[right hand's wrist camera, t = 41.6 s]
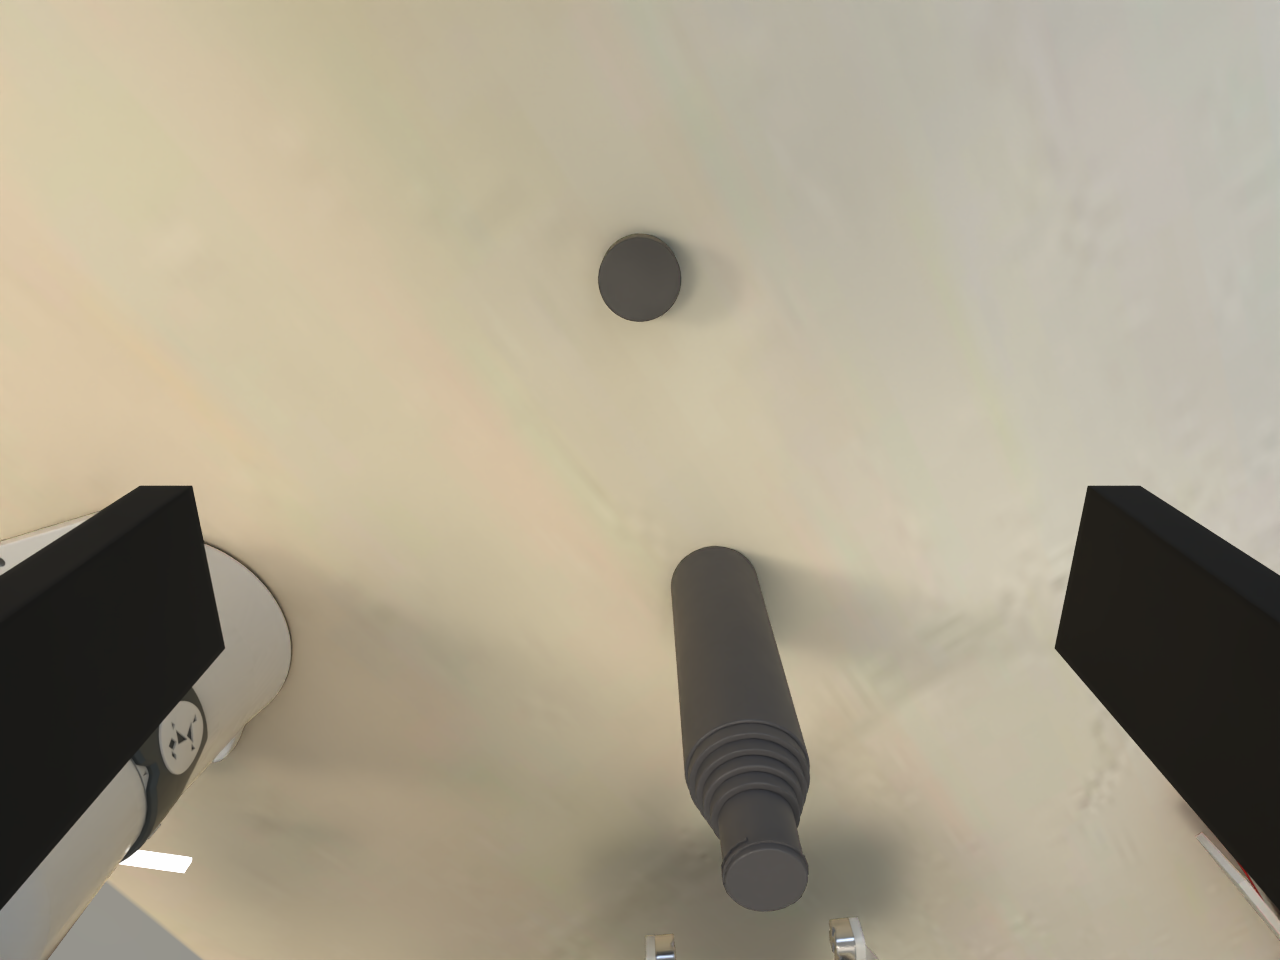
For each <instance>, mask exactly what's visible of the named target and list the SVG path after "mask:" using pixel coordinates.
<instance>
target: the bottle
mask: <svg viewBox="0 0 1280 960" xmlns="http://www.w3.org/2000/svg"><path fill="white" fill-rule="evenodd" d="M671 593H672V607H673V620H674V634H675V647H676V661H677V675H678V688H679V702H680V715H681V729H682V743H683V756H684V770H685V779H686V783H687V786H688V789H689V791H690V795H691V798H692V800H693V802H694V804H695V805H696V807H697V808H698V809H699V811H700V812H701V814H702V815H703V817H704V818H705V819H706V820H707V822H708V824H709V825H710V826H711V828H712V829H713V830H714V832H715V834H716V836H717V837H718V838H719V839H720V843H721V851H722V859H723V862H722V865H721V867H722V878H723V885H724V887H725V889H726V892H727V893H728V895H729V896H730V897H731V898H732V899H733V900H734V901H735V902H737V903H738V904H739V905H741V906H743V907H745V908H747V909H750V910H754V911H763V912H764V911H775V910H779V909H782V908H785V907H787V906H789V905H791V904H793V903H795V902H796V901H797V900H798V899H799V898H801V897H802V896H801V895H802V894H803V892H804V890H805V888H806V886H807V881H808V863H807V860H806V858H805V856H804V855H803V852H802V848H801V844H800V840H799V835H798V831H797V827H798V825H799V821H800V816H801V813H802V809H803V806H804V803H805V800H806V795H807V792H808V788H809V784H810V774H809V770H810V764H809V757H808V754H807V750H806V747H805V743H804V740H803V736H802V733H801V729H800V726H799V722H798V719H797V715H796V712H795V708H794V705H793V701H792V697H791V694H790V690H789V687H788V683H787V680H786V676H785V673H784V669H783V666H782V662H781V659H780V655H779V652H778V648H777V645H776V641H775V638H774V634H773V631H772V627H771V624H770V620H769V617H768V613H767V610H766V606H765V603H764V599H763V596H762V592H761V588H760V585H759V581H758V578H757V574H756V572H755V569H754V567H753V566H752V564H751V563H750V562H749V560H748V559H747V558H746V557H744V556H743V555H742V554H740V553H739V552H737V551H735V550H732V549H729V548H725V547H706V548H703V549H699V550H697V551H695V552H693V553H691V554H689V555H688V556H687V557H685V558H684V559H683V560H682V561H681V562H680V564H679V565H678V566H677V568H676V569H675V572H674V574H673V577H672V582H671Z"/></svg>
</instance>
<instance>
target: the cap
mask: <svg viewBox="0 0 1280 960" xmlns="http://www.w3.org/2000/svg"><path fill="white" fill-rule="evenodd" d="M598 283H599V289H600V293H601V295H602V298H603V300H604V301H605V303H606V305H607V306H608V307H609V308H610V309H611V310H612V311H613V312H614V313H615V314H617V315H618V316H620V317H622V318H624V319H627V320H630V321H636V322H643V321H649V320H653V319H655V318H658V317H659V316H661V315H663V314H664V313H665V312H667V311H668V310H669V309H670V308H671V306H672V305H673V304H674V302H675V300H676V299H677V296H678V294H679V291H680V286H681V273H680V268H679V265H678V263H677V260H676V257H675V255H674V254H673V252H672V250H671V249H670V248H669V247H668V246H667V245H666V244H665V243H664V242H663V241H661V240H660V239H658V238H656V237H654V236H651V235H647V234H633V235H629V236H626V237H623V238H621V239H620V240H618V241H617V242H615V243H614V244H613V245H612V246H611V247H610V248H609V250H608V251H607V252H606V254H605V256H604V258H603V261H602V264H601V266H600V270H599V276H598Z"/></svg>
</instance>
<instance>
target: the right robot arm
mask: <svg viewBox="0 0 1280 960" xmlns="http://www.w3.org/2000/svg"><path fill="white" fill-rule="evenodd" d="M224 649H225V644H224V639H223V634H222V630H221V625H220V620H219V615H218V610H217V605H216V600H215V595H214V590H213V585H212V580H211V576H210V571H209V566H208V561H207V556H206V551H205V546H204V541H203V536H202V531H201V527H200V522H199V517H198V512H197V507H196V502H195V497H194V492H193V487H192V486H139V487H137V488H136V489H134V490H133V491H131V492H130V493H128V494H126V495H125V496H123V497H122V498H120V499H119V500H117V501H116V502H114V503H112V504H111V505H109V506H108V507H106V508H105V509H103V510H101V511H100V512H98V513H97V514H95V515H94V516H92V517H91V518H89V519H87V520H86V521H84V522H83V523H81V524H80V525H78V526H77V527H75V528H73V529H72V530H70V531H69V532H67V533H66V534H64V535H63V536H61V537H59V538H58V539H56V540H55V541H53V542H52V543H50V544H49V545H47V546H45V547H44V548H42V549H41V550H39V551H38V552H36V553H35V554H33V555H31V556H30V557H28V558H27V559H25V560H24V561H22V562H21V563H19V564H17V565H16V566H14V567H13V568H11V569H10V570H8V571H6V572H5V573H3V574H2V575H0V911H1V909H2V908H3V907H4V906H5V905H6V904H7V902H8V901H9V900H10V899H11V898H12V897H13V895H14V894H15V893H16V892H17V891H18V890H19V888H20V887H21V886H22V885H23V884H24V883H25V881H26V880H27V879H28V878H29V877H30V876H31V874H32V873H33V872H34V871H35V870H36V869H37V867H38V866H39V865H40V864H41V863H42V862H43V860H44V859H45V858H46V857H47V856H48V855H49V853H50V852H51V851H52V850H53V849H54V848H55V846H56V845H57V844H58V843H59V842H60V841H61V839H62V838H63V837H64V836H65V835H66V834H67V832H68V831H69V830H70V829H71V828H72V827H73V825H74V824H75V823H76V822H77V821H78V820H79V818H80V817H81V816H82V815H83V814H84V813H85V811H86V810H87V809H88V808H89V807H90V806H91V804H92V803H93V802H94V801H95V800H96V799H97V797H98V796H99V795H100V794H101V793H102V792H103V790H104V789H105V788H106V787H107V786H108V785H109V783H110V782H111V781H112V780H113V779H114V778H115V776H116V775H117V774H118V773H119V772H120V771H121V769H122V768H123V767H124V766H125V765H126V764H127V762H128V761H129V760H130V759H131V758H132V757H133V755H134V754H135V753H136V752H137V751H138V750H139V748H140V747H141V746H142V745H143V744H144V743H145V741H146V740H147V739H148V738H149V737H150V736H151V734H152V733H153V732H154V731H155V730H156V729H157V727H158V726H159V725H160V724H161V723H162V722H163V720H164V719H165V718H166V717H167V716H168V715H169V713H170V712H171V711H172V710H173V709H174V708H175V706H176V705H177V704H178V703H179V702H180V701H181V699H182V698H183V697H184V696H185V695H186V694H187V692H188V691H189V690H190V689H191V688H192V687H193V685H194V684H195V683H196V682H197V681H198V680H199V678H200V677H201V676H202V675H203V674H204V673H205V671H206V670H207V669H208V668H209V667H210V666H211V664H212V663H213V662H214V661H215V660H216V659H217V657H218V656H219V655H220V654H221V653H222V652H223V650H224ZM1055 649H1056V650H1057V652H1058V653H1059V654H1060V655H1061V656H1062V657H1063V659H1064V660H1065V661H1066V662H1067V663H1068V664H1069V666H1070V667H1071V668H1072V669H1073V670H1074V671H1075V673H1076V674H1077V675H1078V676H1079V677H1080V678H1081V680H1082V681H1083V682H1084V683H1085V684H1086V685H1087V687H1088V688H1089V689H1090V690H1091V691H1092V692H1093V694H1094V695H1095V696H1096V697H1097V698H1098V699H1099V701H1100V702H1101V703H1102V704H1103V705H1104V706H1105V708H1106V709H1107V710H1108V711H1109V712H1110V713H1111V715H1112V716H1113V717H1114V718H1115V719H1116V720H1117V722H1118V723H1119V724H1120V725H1121V726H1122V727H1123V729H1124V730H1125V731H1126V732H1127V733H1128V734H1129V736H1130V737H1131V738H1132V739H1133V740H1134V741H1135V743H1136V744H1137V745H1138V746H1139V747H1140V748H1141V750H1142V751H1143V752H1144V753H1145V754H1146V755H1147V757H1148V758H1149V759H1150V760H1151V761H1152V762H1153V764H1154V765H1155V766H1156V767H1157V768H1158V769H1159V771H1160V772H1161V773H1162V774H1163V775H1164V776H1165V778H1166V779H1167V780H1168V781H1169V782H1170V783H1171V785H1172V786H1173V787H1174V788H1175V789H1176V790H1177V792H1178V793H1179V794H1180V795H1181V796H1182V797H1183V799H1184V800H1185V801H1186V802H1187V803H1188V804H1189V806H1190V807H1191V808H1192V809H1193V810H1194V811H1195V813H1196V814H1197V815H1198V816H1199V817H1200V818H1201V820H1202V821H1203V822H1204V823H1205V824H1206V825H1207V827H1208V828H1209V829H1210V830H1211V831H1212V832H1213V834H1214V835H1215V836H1216V837H1217V838H1218V839H1219V841H1220V842H1221V843H1222V844H1223V845H1224V846H1225V848H1226V849H1227V850H1228V851H1229V852H1230V853H1231V855H1232V856H1233V857H1234V858H1235V859H1236V860H1237V862H1238V863H1239V864H1240V865H1241V866H1242V867H1243V869H1244V870H1245V871H1246V872H1247V873H1248V874H1249V876H1250V877H1251V878H1252V879H1253V880H1254V881H1255V883H1256V884H1257V885H1258V886H1259V887H1260V888H1261V890H1262V891H1263V892H1264V893H1265V894H1266V895H1267V897H1268V898H1269V899H1270V900H1271V901H1272V902H1273V904H1274V905H1275V906H1276V907H1277V908H1278V909H1279V911H1280V575H1278V574H1277V573H1275V572H1274V571H1272V570H1270V569H1269V568H1267V567H1266V566H1264V565H1263V564H1261V563H1259V562H1258V561H1256V560H1255V559H1253V558H1252V557H1250V556H1249V555H1247V554H1245V553H1244V552H1242V551H1241V550H1239V549H1238V548H1236V547H1235V546H1233V545H1231V544H1230V543H1228V542H1227V541H1225V540H1224V539H1222V538H1221V537H1219V536H1217V535H1216V534H1214V533H1213V532H1211V531H1210V530H1208V529H1207V528H1205V527H1203V526H1202V525H1200V524H1199V523H1197V522H1196V521H1194V520H1193V519H1191V518H1189V517H1188V516H1186V515H1185V514H1183V513H1182V512H1180V511H1179V510H1177V509H1175V508H1174V507H1172V506H1171V505H1169V504H1168V503H1166V502H1164V501H1163V500H1161V499H1160V498H1158V497H1157V496H1155V495H1154V494H1152V493H1150V492H1149V491H1147V490H1146V489H1144V488H1143V487H1141V486H1088V487H1087V492H1086V497H1085V502H1084V507H1083V512H1082V517H1081V522H1080V526H1079V531H1078V536H1077V541H1076V546H1075V551H1074V556H1073V561H1072V566H1071V571H1070V576H1069V580H1068V585H1067V590H1066V595H1065V600H1064V605H1063V610H1062V615H1061V620H1060V625H1059V630H1058V634H1057V639H1056V644H1055Z"/></svg>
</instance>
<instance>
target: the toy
mask: <svg viewBox="0 0 1280 960" xmlns="http://www.w3.org/2000/svg"><path fill="white" fill-rule="evenodd" d="M1195 837H1196V838H1197V839H1198V840H1199V842H1200V843H1201V844H1202V845H1203V847H1204V848H1205V849H1206V850H1207V852H1208V853H1209V854H1210V855H1211V856H1212V858H1213V859H1214V860H1215V861H1216V863H1217V864H1218V865H1219V866H1220V868H1221V869H1222V870H1223V871H1224V873H1225V874H1226V875H1227V876H1228V877H1229V879H1230V880H1231V881H1232V882H1233V884H1234V885H1235V886H1236V887H1237V889H1238V890H1239V891H1240V892H1241V893H1242V895H1243V896H1244V897H1245V898H1246V900H1247V901H1248V902H1249V903H1250V905H1251V906H1252V907H1253V908H1254V909H1255V911H1256V912H1257V913H1258V914H1259V916H1260V917H1261V918H1262V919H1263V921H1264V922H1265V923H1266V924H1267V925H1268V927H1269V928H1270V929H1271V930H1272V932H1273V933H1274V934H1275V935H1276V937H1277V938H1278V939H1279V940H1280V911H1279V909H1278V908H1277V907H1276V906H1275V905H1274V904H1273V902H1272V901H1271V900H1270V899H1269V898H1268V897H1267V895H1266V894H1265V893H1264V892H1263V891H1262V890H1261V888H1260V887H1259V886H1258V885H1257V884H1256V883H1255V881H1254V880H1253V879H1252V878H1251V877H1250V876H1249V874H1248V873H1247V872H1246V871H1245V870H1244V869H1243V867H1242V866H1241V865H1240V864H1239V863H1238V864H1239V865H1240V867H1241V868H1242V870H1243V871H1244V873H1245V875H1246V876H1247V878H1248V879H1249V881H1250V882H1251V884H1252V885H1253V887H1254V888H1255V890H1256V891H1255V890H1254V889H1253V887H1252V886H1251V885H1250V884H1249V882H1248V881H1247V880H1246V879H1245V878H1244V877H1243V875H1242V874H1241V873H1240V872H1239V871H1238V870H1237V869H1236V868H1235V867H1234V866H1233V865H1232V864H1231V862H1230V861H1229V860H1228V859H1227V858H1226V857H1225V856H1224V855H1223V854H1222V853H1221V852H1220V851H1219V849H1218V848H1217V847H1216V846H1215V845H1214V844H1213V843H1212V842H1211V841H1210V840H1209V839H1208V838H1207V836H1206V835H1205V834H1204V833H1203V832H1201V833H1200V834H1198V835H1196V836H1195ZM1236 861H1237V860H1236ZM1257 893H1258V894H1257Z"/></svg>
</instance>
